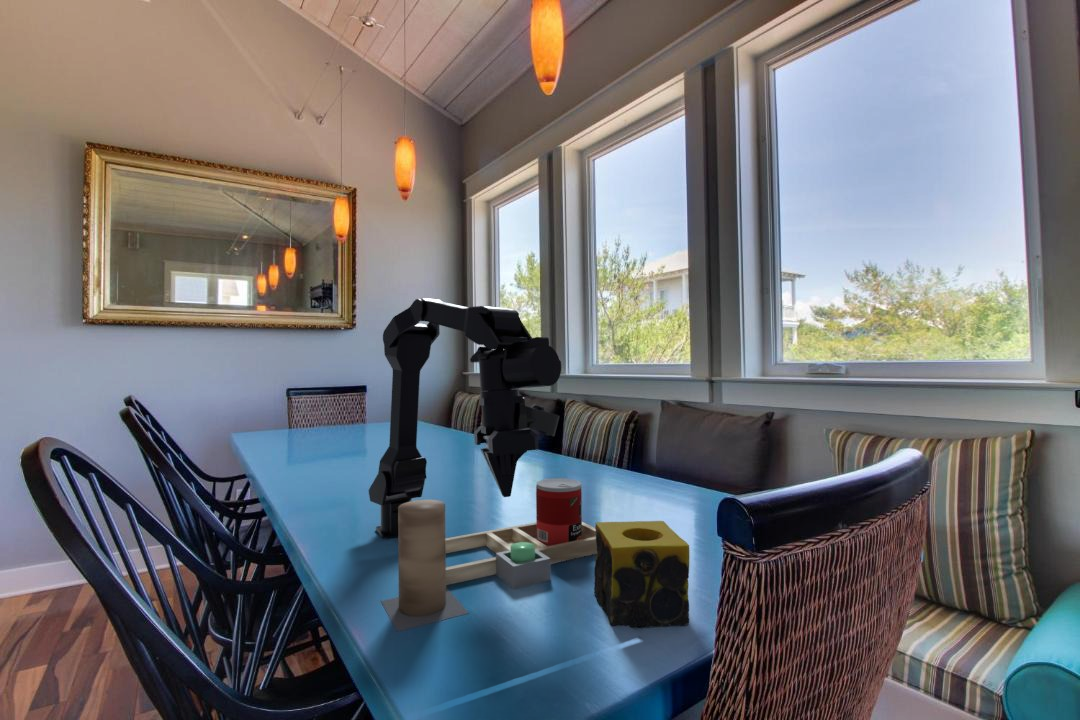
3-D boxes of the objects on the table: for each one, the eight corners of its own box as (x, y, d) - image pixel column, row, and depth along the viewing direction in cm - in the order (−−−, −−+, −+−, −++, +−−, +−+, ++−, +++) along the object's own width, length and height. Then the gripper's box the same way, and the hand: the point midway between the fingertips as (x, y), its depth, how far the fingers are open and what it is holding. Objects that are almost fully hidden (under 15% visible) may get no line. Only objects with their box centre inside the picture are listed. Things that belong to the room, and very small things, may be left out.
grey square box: (496, 576, 77) (495, 553, 77) (531, 568, 80) (531, 545, 80) (513, 591, 72) (513, 566, 72) (550, 582, 75) (550, 558, 75)
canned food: (579, 555, 86) (578, 489, 86) (532, 552, 87) (531, 487, 88) (584, 539, 93) (583, 478, 93) (541, 537, 95) (540, 477, 95)
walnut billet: (393, 601, 69) (393, 503, 69) (437, 591, 72) (437, 497, 72) (405, 621, 63) (404, 514, 63) (452, 609, 66) (451, 508, 66)
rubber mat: (380, 604, 69) (380, 601, 69) (445, 589, 73) (445, 586, 73) (397, 634, 61) (397, 631, 61) (468, 616, 65) (468, 613, 65)
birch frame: (416, 558, 85) (416, 543, 85) (570, 529, 99) (570, 516, 99) (441, 588, 73) (441, 571, 73) (611, 550, 88) (611, 535, 88)
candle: (593, 593, 72) (592, 521, 72) (664, 590, 73) (663, 519, 73) (609, 631, 62) (608, 547, 62) (691, 627, 62) (690, 544, 63)
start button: (506, 564, 77) (506, 544, 77) (527, 560, 79) (527, 540, 79) (517, 573, 74) (517, 552, 74) (539, 568, 76) (539, 547, 76)
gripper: (570, 384, 70) (579, 501, 69) (536, 389, 88) (542, 481, 87) (489, 390, 67) (497, 511, 66) (471, 393, 85) (476, 489, 84)
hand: (506, 496), depth 76 cm, fingers closed
